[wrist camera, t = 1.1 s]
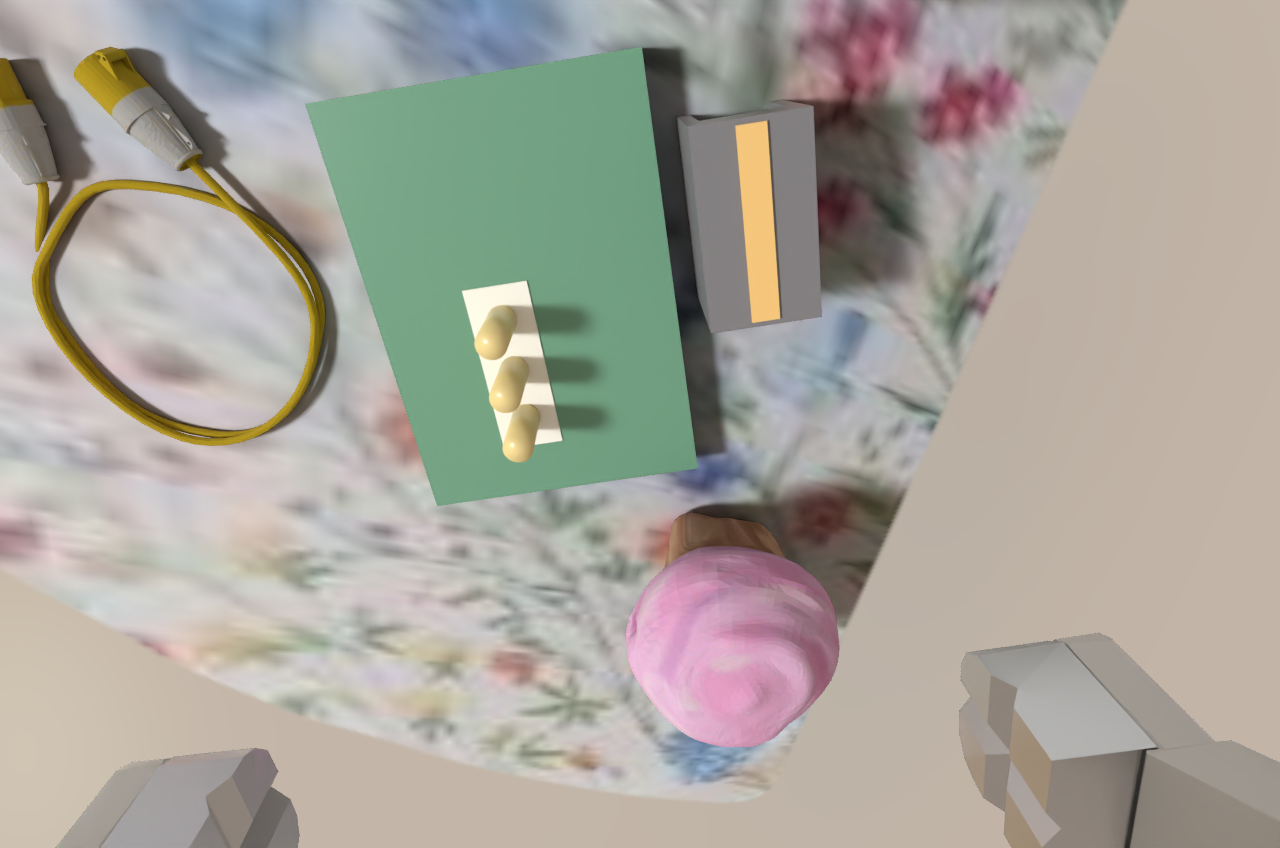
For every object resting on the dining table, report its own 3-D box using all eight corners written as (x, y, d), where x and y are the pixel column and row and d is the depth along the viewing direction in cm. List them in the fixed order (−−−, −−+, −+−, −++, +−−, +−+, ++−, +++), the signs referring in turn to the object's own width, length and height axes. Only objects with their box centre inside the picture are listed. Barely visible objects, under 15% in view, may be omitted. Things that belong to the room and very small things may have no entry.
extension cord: (327, 85, 27) (307, 87, 25) (330, 451, 34) (314, 472, 32) (-24, 17, 26) (-72, 14, 24) (53, 411, 32) (20, 431, 31)
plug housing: (676, 116, 27) (688, 126, 23) (781, 99, 27) (814, 106, 23) (697, 294, 30) (711, 334, 26) (791, 279, 30) (822, 317, 26)
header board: (320, 101, 27) (267, 108, 23) (640, 47, 26) (644, 44, 22) (444, 488, 34) (421, 544, 30) (694, 452, 34) (704, 504, 30)
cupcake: (820, 487, 35) (890, 633, 26) (778, 624, 39) (826, 793, 30) (638, 466, 34) (646, 609, 25) (614, 608, 38) (613, 776, 29)
